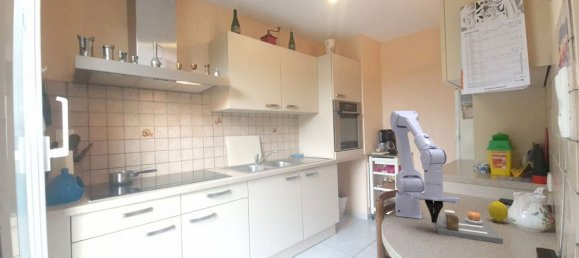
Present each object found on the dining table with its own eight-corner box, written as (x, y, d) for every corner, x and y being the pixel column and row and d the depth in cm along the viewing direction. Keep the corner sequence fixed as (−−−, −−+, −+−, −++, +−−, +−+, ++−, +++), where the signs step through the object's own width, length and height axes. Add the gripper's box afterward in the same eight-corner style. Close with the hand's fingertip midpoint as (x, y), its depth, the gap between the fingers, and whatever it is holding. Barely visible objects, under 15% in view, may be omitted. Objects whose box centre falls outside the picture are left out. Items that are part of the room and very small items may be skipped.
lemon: (511, 225, 89) (511, 203, 89) (494, 224, 90) (494, 202, 90) (501, 219, 94) (501, 199, 94) (485, 218, 95) (485, 198, 95)
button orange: (468, 219, 87) (468, 213, 87) (466, 216, 90) (466, 210, 90) (481, 221, 86) (481, 215, 86) (478, 217, 89) (478, 212, 89)
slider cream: (445, 223, 87) (445, 212, 87) (444, 220, 89) (444, 209, 89) (455, 224, 85) (455, 213, 85) (453, 221, 88) (453, 210, 88)
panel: (438, 234, 82) (438, 226, 82) (433, 218, 96) (432, 212, 96) (502, 243, 74) (502, 235, 74) (486, 225, 89) (486, 218, 89)
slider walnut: (448, 228, 82) (447, 217, 82) (446, 225, 84) (446, 214, 84) (458, 230, 80) (458, 218, 80) (456, 227, 83) (456, 215, 83)
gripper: (410, 183, 84) (411, 222, 84) (460, 187, 78) (461, 229, 78) (410, 179, 91) (410, 216, 91) (456, 183, 85) (457, 222, 84)
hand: (433, 222), depth 85 cm, fingers closed
